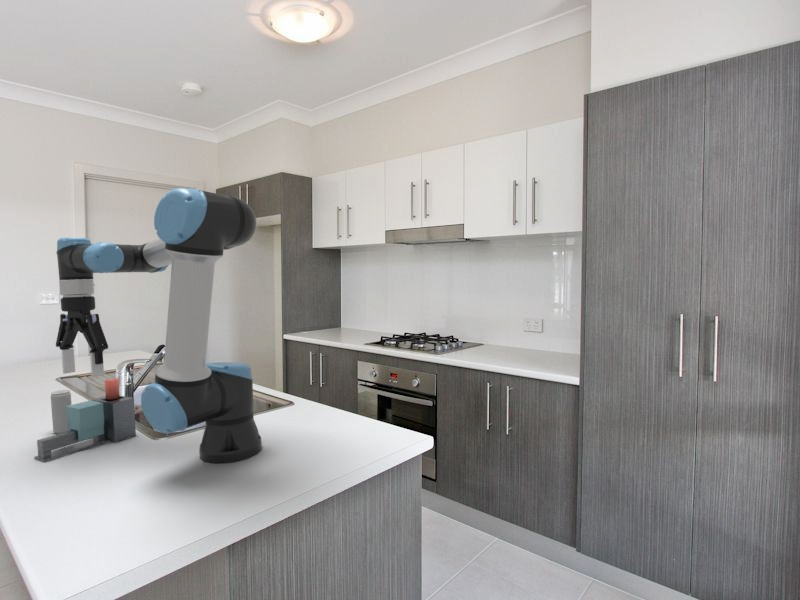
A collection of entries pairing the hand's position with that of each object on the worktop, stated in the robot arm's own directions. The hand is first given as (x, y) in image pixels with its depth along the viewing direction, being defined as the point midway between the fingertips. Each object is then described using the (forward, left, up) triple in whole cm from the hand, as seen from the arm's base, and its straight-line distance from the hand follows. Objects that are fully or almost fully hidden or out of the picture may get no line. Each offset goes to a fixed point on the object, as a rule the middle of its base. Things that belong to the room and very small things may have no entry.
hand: (83, 374), depth 124 cm
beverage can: (+19, -3, -20) cm, 28 cm away
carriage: (0, 0, -17) cm, 17 cm away
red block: (0, -8, -8) cm, 11 cm away
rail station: (0, 0, -20) cm, 20 cm away
